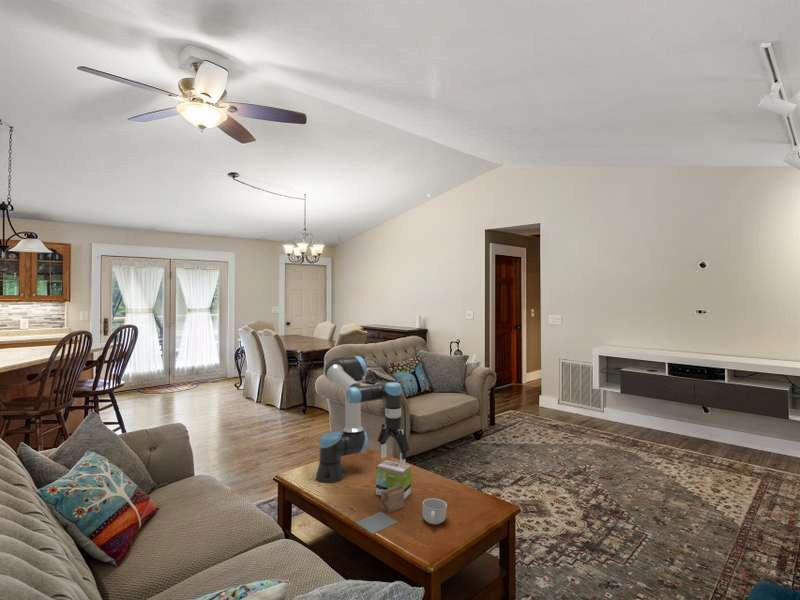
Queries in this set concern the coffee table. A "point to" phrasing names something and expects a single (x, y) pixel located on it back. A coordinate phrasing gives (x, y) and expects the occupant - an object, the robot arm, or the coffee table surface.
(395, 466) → the tea box
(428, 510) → the teacup
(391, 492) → the walnut block
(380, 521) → the coaster
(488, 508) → the coffee table surface
